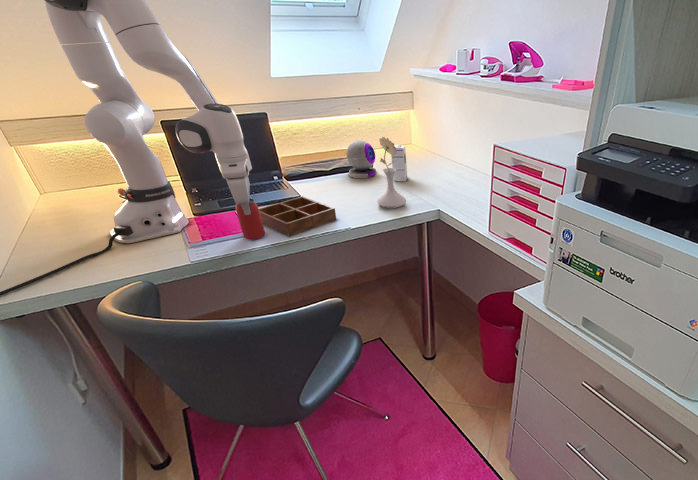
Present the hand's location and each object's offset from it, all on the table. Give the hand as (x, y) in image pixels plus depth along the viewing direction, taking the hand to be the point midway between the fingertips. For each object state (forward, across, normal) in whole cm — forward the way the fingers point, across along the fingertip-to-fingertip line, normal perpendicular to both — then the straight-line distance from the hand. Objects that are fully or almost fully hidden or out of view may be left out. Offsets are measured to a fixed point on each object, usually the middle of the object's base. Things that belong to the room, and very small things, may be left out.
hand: (248, 208), depth 135 cm
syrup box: (+11, -47, +62) cm, 78 cm away
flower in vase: (+11, -16, +50) cm, 53 cm away
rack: (+10, -10, +14) cm, 19 cm away
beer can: (+10, 0, 0) cm, 10 cm away
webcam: (+10, -60, +47) cm, 77 cm away
